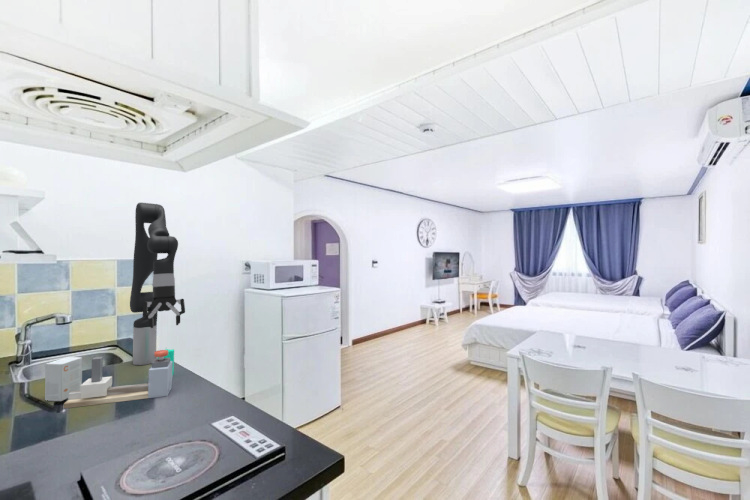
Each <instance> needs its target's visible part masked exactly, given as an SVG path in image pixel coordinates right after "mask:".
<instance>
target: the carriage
mask: <svg viewBox="0 0 750 500" xmlns="http://www.w3.org/2000/svg"><path fill="white" fill-rule="evenodd" d="M103 360H104V356H96V357H93V358H92V359H91V378H87V380H86V379H85V381H84V382H82V385H80V394H81V399H83V398H92V397H100V396H106V395H107V389H108V388H109V387H113V386H112V385H113V375H111V376H103V372H104V371H103V370H104V369H103V366H104V365H103V364H104V361H103Z"/></svg>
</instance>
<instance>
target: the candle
mask: <svg viewBox="0 0 750 500" xmlns="http://www.w3.org/2000/svg"><path fill="white" fill-rule="evenodd" d="M164 350H168V355H167V356H164V358H170V361H172V377H173V376H174V375H175V374H174V373H175V372H174V371H175V370H174V369H175V349H174V348H173V349H167V348H165V349H164ZM157 359H159V357H157Z"/></svg>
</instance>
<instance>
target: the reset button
mask: <svg viewBox="0 0 750 500" xmlns="http://www.w3.org/2000/svg"><path fill="white" fill-rule="evenodd" d="M167 355H168V350H165V349H160V350H156V351H155V352H154V356H155V357H156V358H158V357H159V361H164V356H167Z"/></svg>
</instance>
